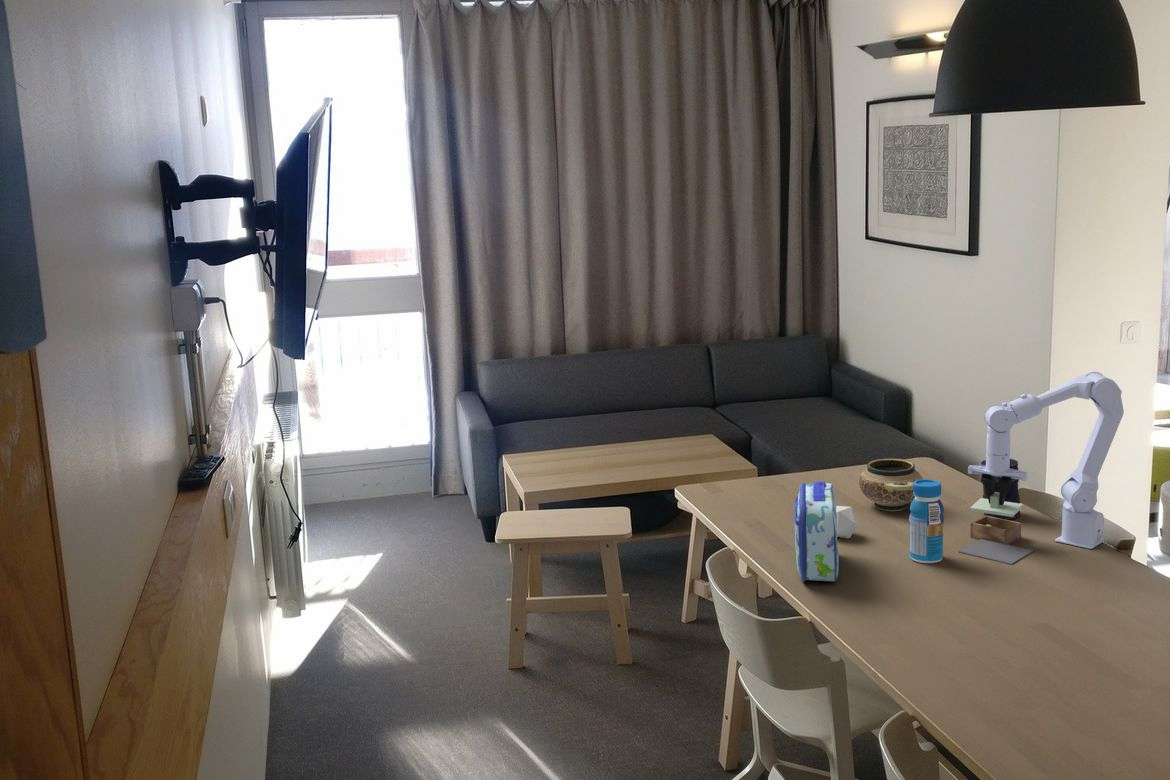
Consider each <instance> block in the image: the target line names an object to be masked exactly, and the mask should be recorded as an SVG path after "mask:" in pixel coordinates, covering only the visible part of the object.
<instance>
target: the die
mask: <svg viewBox="0 0 1170 780" xmlns="http://www.w3.org/2000/svg"><path fill="white" fill-rule="evenodd" d="M836 512H837V537H840V538H839V539H849V538H850V539H851V537H852V535H853V534H854V532H855V530H856V528H857V526H858V525H859V522H858V519H857V516H856V515H855V512H854V509H853V507H852V506H844V505H836Z"/></svg>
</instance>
